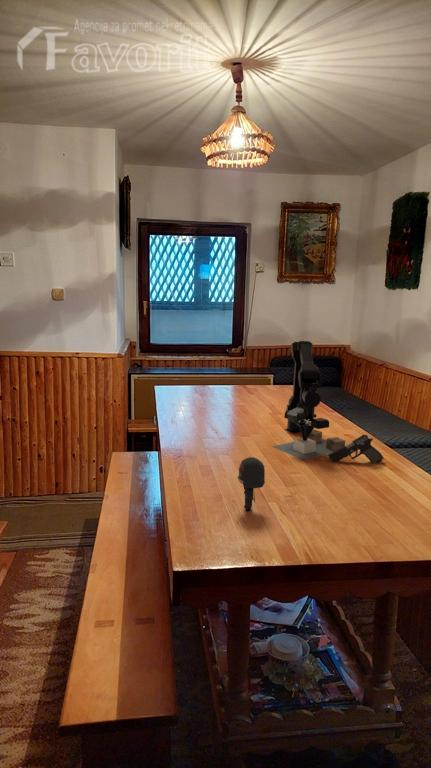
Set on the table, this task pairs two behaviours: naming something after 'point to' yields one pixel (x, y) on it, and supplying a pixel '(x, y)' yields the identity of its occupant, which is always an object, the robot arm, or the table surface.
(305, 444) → the plain block
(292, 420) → the robot arm
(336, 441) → the pip block two
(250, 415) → the table surface
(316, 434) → the pip block one
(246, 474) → the toy
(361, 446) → the handgun
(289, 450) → the mat
